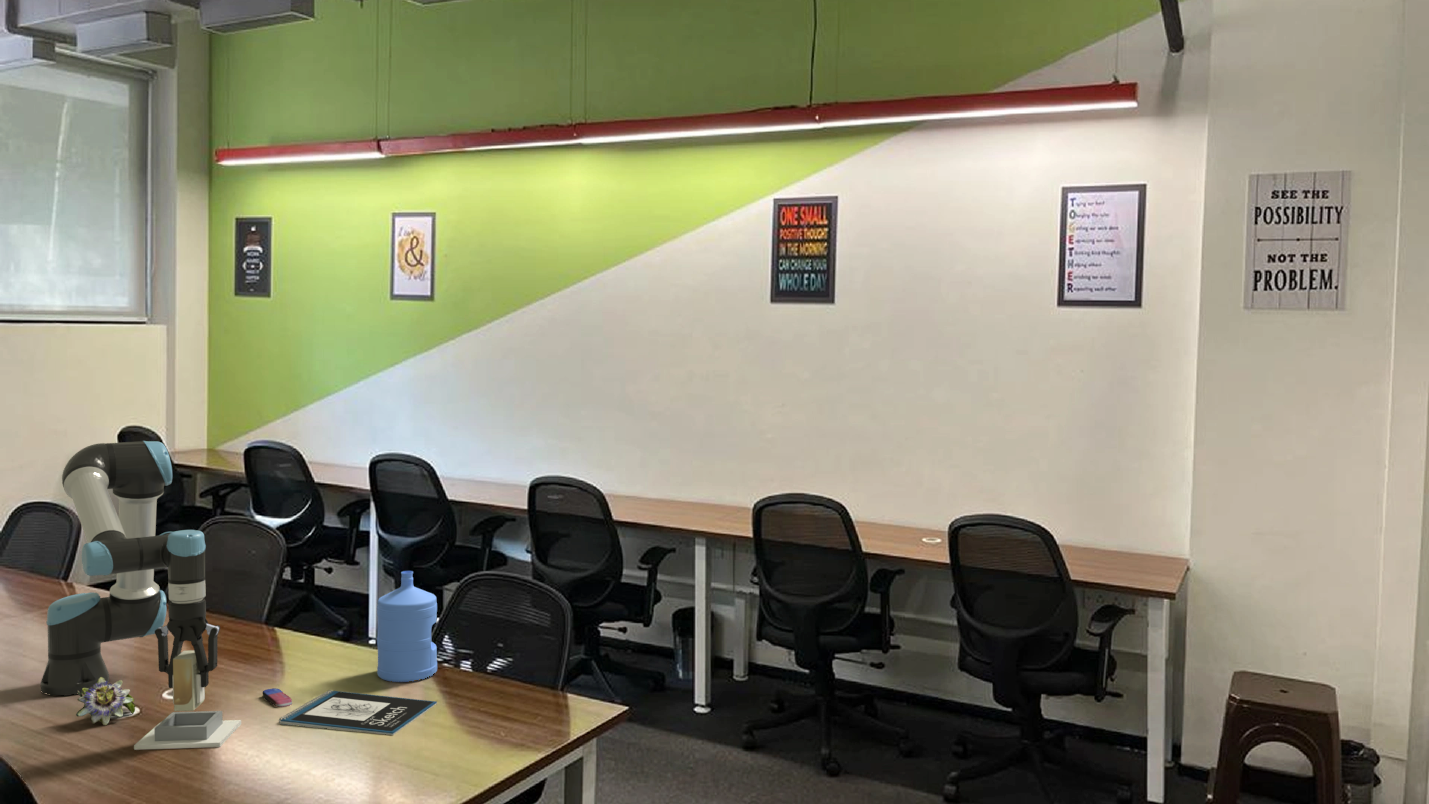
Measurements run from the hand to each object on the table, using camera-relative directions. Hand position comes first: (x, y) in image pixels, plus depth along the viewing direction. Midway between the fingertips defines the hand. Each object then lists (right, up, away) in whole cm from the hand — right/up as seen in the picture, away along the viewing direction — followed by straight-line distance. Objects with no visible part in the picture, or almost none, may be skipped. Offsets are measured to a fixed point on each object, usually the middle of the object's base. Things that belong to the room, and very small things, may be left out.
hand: (188, 701), depth 237 cm
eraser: (+10, -7, +25) cm, 28 cm away
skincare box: (0, -1, 0) cm, 1 cm away
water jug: (+36, -6, +47) cm, 59 cm away
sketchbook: (+33, -8, +16) cm, 38 cm away
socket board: (0, -8, 0) cm, 8 cm away
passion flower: (-25, -8, +11) cm, 28 cm away
